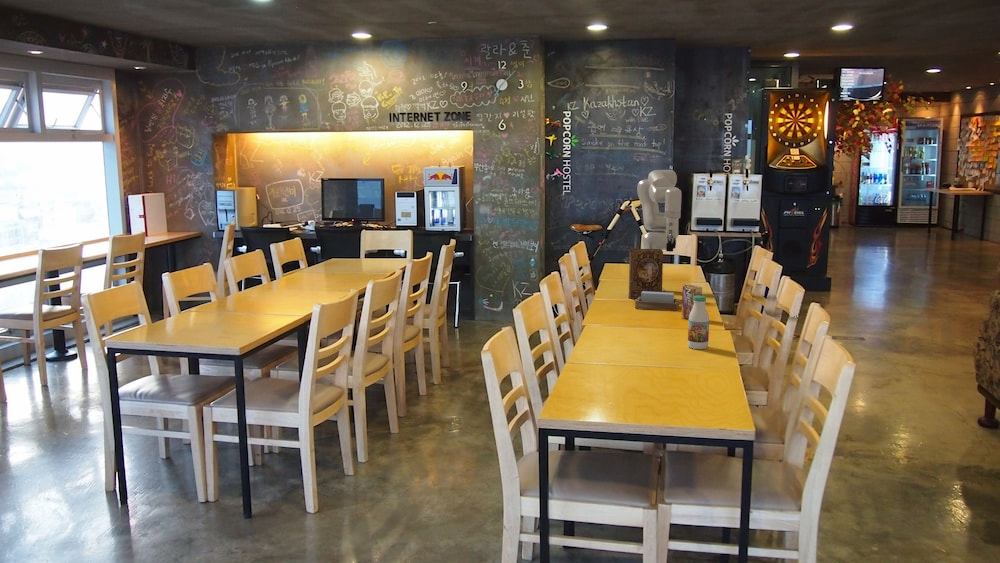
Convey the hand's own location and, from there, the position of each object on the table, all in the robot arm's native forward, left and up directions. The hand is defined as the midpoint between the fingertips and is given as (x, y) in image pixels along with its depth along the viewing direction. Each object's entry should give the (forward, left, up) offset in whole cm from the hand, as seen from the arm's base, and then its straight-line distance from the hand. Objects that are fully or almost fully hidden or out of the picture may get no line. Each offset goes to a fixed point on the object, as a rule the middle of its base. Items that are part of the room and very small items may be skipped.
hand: (670, 249), depth 386 cm
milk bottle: (+85, +19, -27) cm, 91 cm away
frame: (+12, -4, -27) cm, 29 cm away
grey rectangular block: (+12, -4, -24) cm, 27 cm away
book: (-9, -13, -27) cm, 31 cm away
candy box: (+35, +13, -27) cm, 46 cm away
